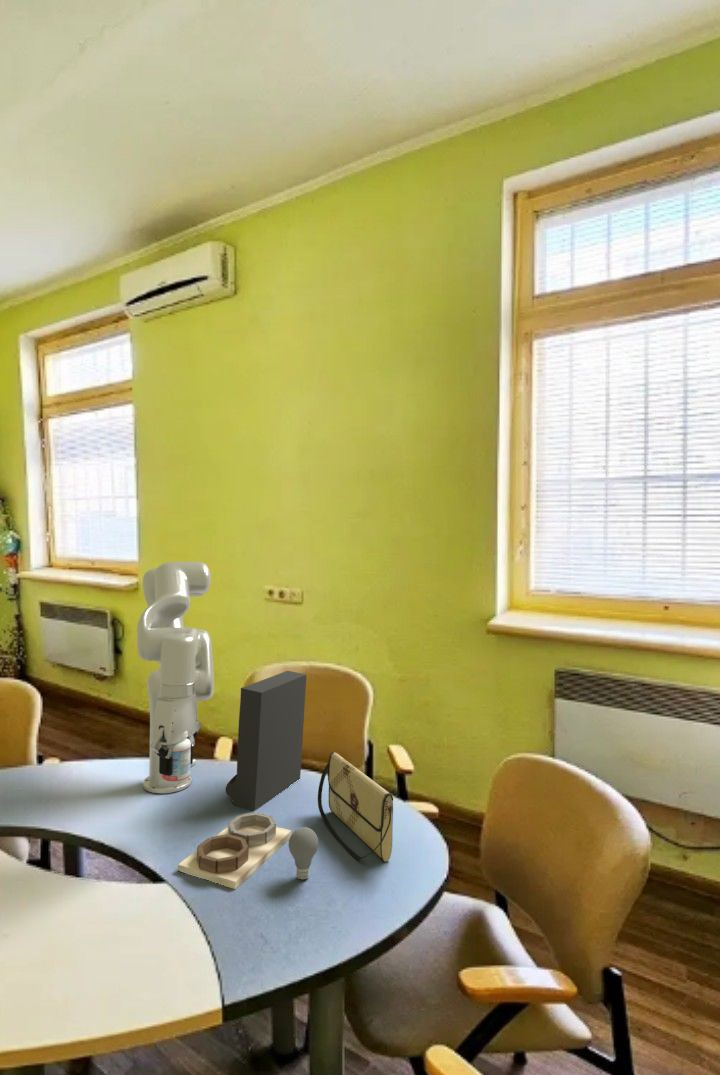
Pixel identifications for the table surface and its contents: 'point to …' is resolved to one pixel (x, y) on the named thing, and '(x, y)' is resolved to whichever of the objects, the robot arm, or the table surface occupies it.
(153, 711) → the robot arm
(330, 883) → the table surface
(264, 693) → the dark gray upright block
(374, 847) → the clutch purse
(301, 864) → the light bulb
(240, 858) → the holder board
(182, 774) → the pill bottle
